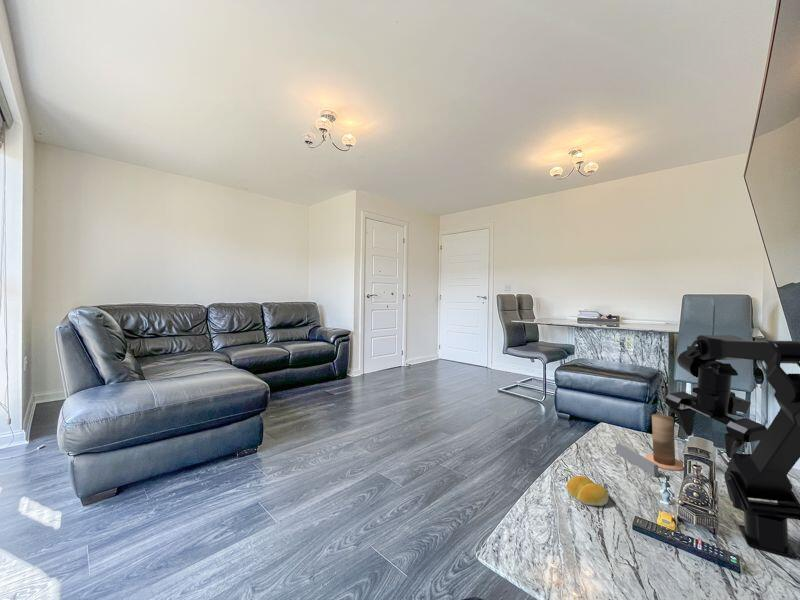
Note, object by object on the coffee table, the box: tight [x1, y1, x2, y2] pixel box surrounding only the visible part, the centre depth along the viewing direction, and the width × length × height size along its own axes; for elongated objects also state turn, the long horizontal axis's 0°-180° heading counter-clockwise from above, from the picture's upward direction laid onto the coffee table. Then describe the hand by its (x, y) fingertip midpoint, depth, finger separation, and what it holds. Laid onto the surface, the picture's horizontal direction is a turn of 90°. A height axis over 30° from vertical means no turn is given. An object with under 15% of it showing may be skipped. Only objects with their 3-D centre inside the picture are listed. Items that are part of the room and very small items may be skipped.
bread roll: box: [566, 475, 609, 507], centre depth 81 cm, size 8×9×4 cm
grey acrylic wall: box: [615, 443, 659, 478], centre depth 96 cm, size 14×1×3 cm, turn 4°
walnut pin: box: [651, 413, 676, 466], centre depth 96 cm, size 5×5×13 cm
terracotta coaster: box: [644, 453, 684, 472], centre depth 96 cm, size 9×9×1 cm
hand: (708, 446), depth 81 cm, fingers open, 9 cm apart
